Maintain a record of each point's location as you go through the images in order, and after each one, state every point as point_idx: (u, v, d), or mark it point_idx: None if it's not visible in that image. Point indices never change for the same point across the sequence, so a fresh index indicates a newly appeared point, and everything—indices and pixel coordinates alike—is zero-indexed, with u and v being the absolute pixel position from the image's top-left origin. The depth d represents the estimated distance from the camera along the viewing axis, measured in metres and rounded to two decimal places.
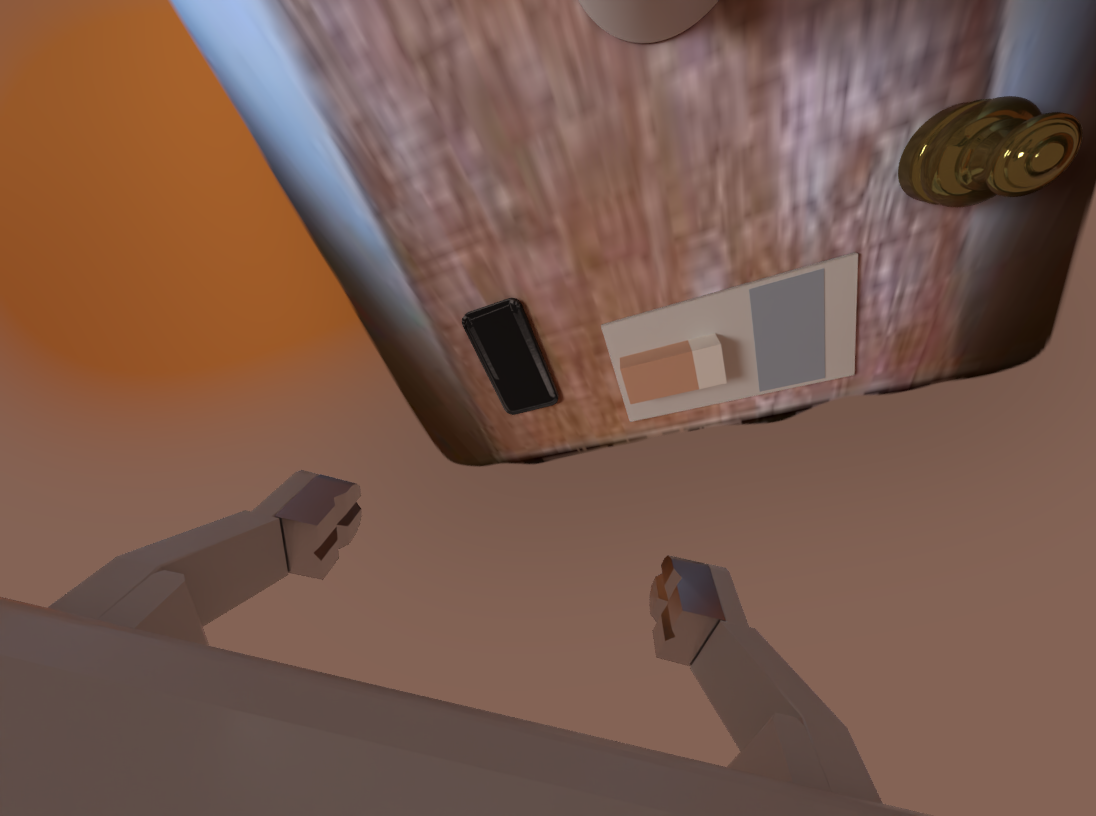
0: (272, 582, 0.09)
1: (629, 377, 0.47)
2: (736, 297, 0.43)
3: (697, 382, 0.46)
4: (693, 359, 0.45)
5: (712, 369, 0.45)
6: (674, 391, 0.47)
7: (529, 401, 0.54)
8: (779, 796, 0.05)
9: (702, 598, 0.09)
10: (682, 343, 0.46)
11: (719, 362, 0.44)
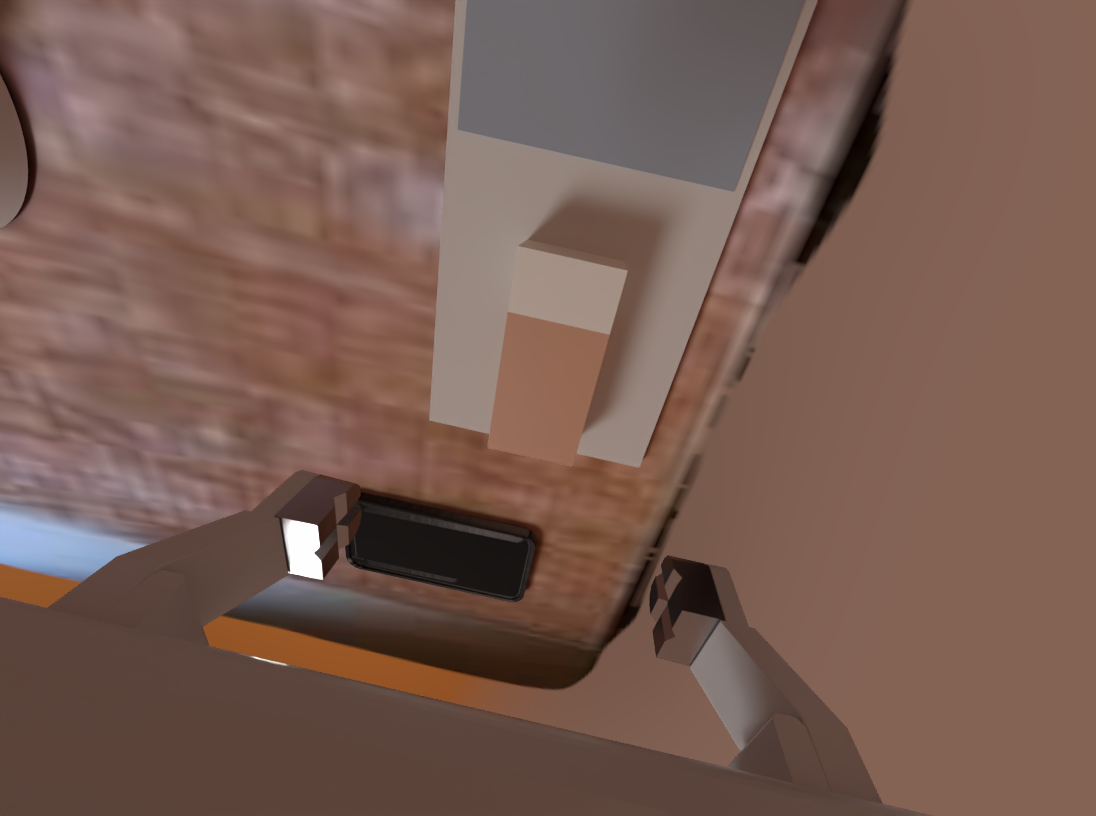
0: (272, 582, 0.09)
1: (512, 441, 0.23)
2: (466, 163, 0.19)
3: (590, 331, 0.19)
4: (529, 316, 0.19)
5: (574, 288, 0.18)
6: (587, 383, 0.20)
7: (512, 569, 0.32)
8: (779, 796, 0.05)
9: (701, 597, 0.09)
10: None
11: (564, 267, 0.18)
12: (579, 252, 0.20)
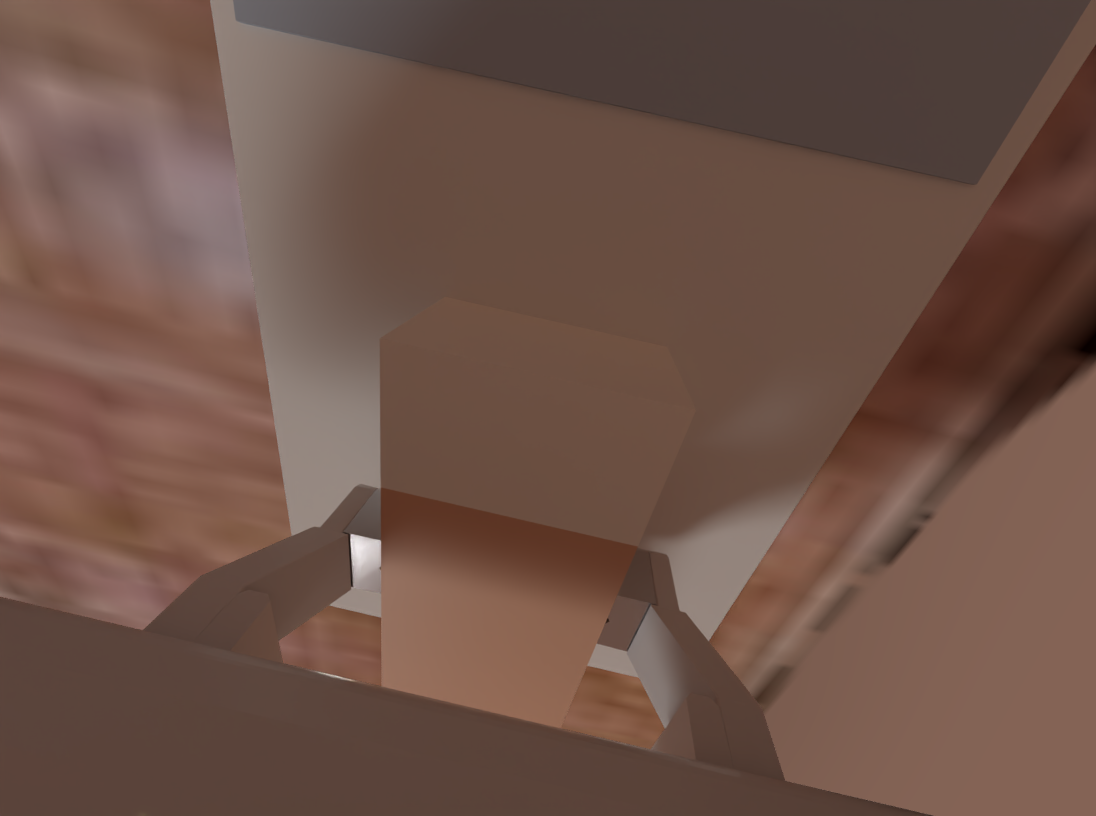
0: (337, 597, 0.09)
1: None
2: (278, 115, 0.08)
3: (588, 537, 0.08)
4: (434, 499, 0.08)
5: (543, 445, 0.07)
6: (582, 627, 0.09)
7: None
8: (779, 796, 0.05)
9: (635, 582, 0.09)
10: None
11: (515, 396, 0.06)
12: (563, 331, 0.08)
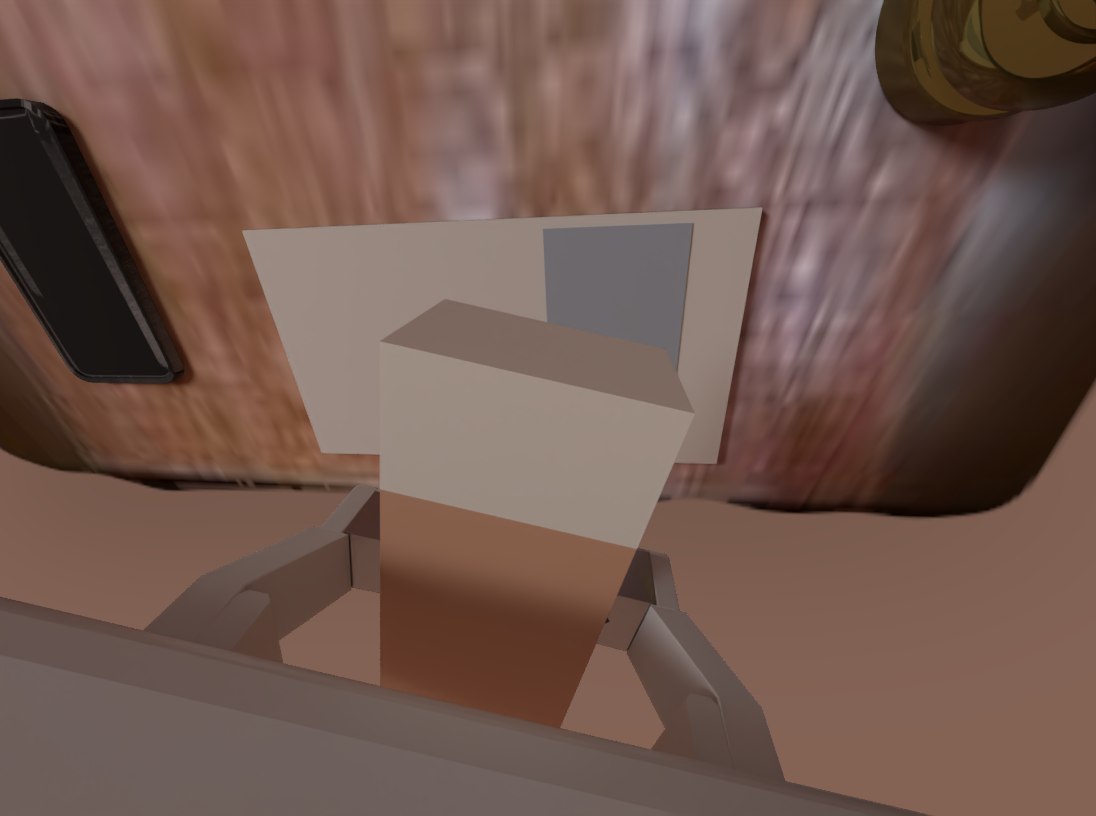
0: (337, 597, 0.09)
1: None
2: (518, 241, 0.20)
3: (587, 539, 0.08)
4: (433, 502, 0.08)
5: (542, 447, 0.07)
6: (581, 629, 0.09)
7: (118, 363, 0.26)
8: (779, 796, 0.05)
9: (635, 582, 0.09)
10: None
11: (514, 399, 0.06)
12: (562, 333, 0.08)
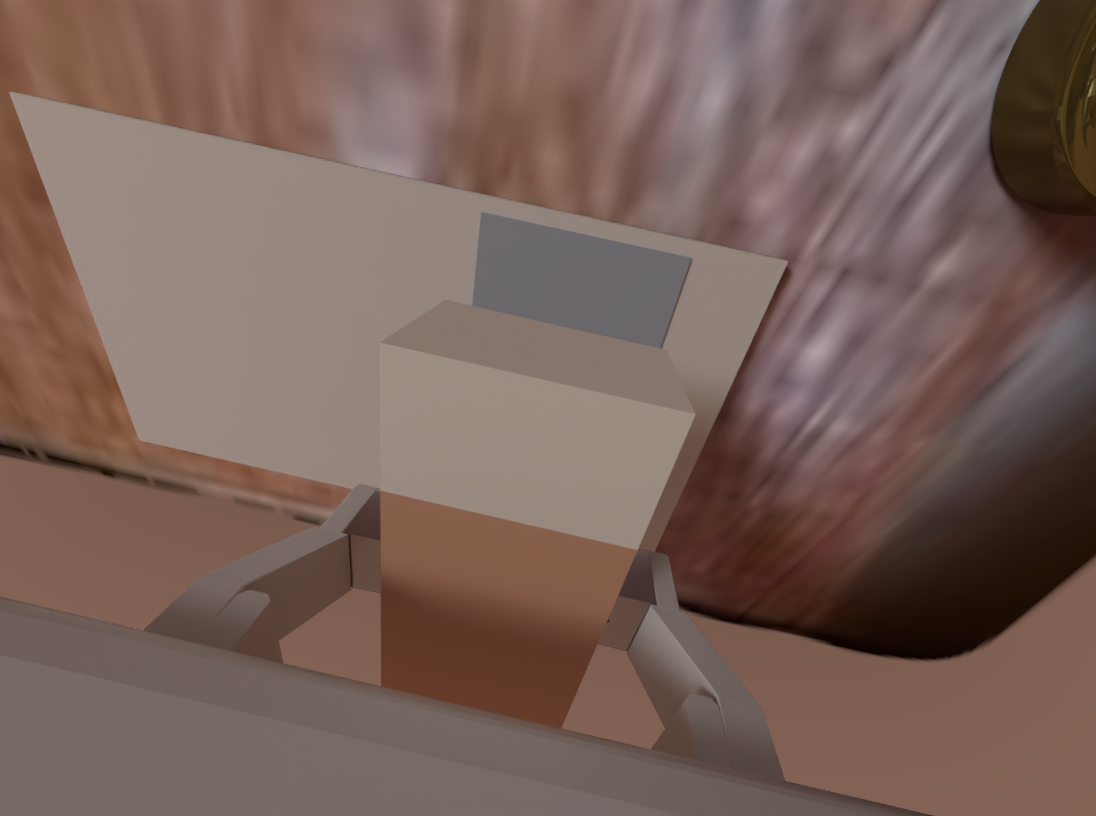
0: (337, 597, 0.09)
1: None
2: (443, 220, 0.13)
3: (588, 540, 0.08)
4: (434, 503, 0.08)
5: (543, 448, 0.07)
6: (581, 630, 0.09)
7: None
8: (779, 796, 0.05)
9: (635, 582, 0.09)
10: None
11: (514, 400, 0.06)
12: (563, 334, 0.08)
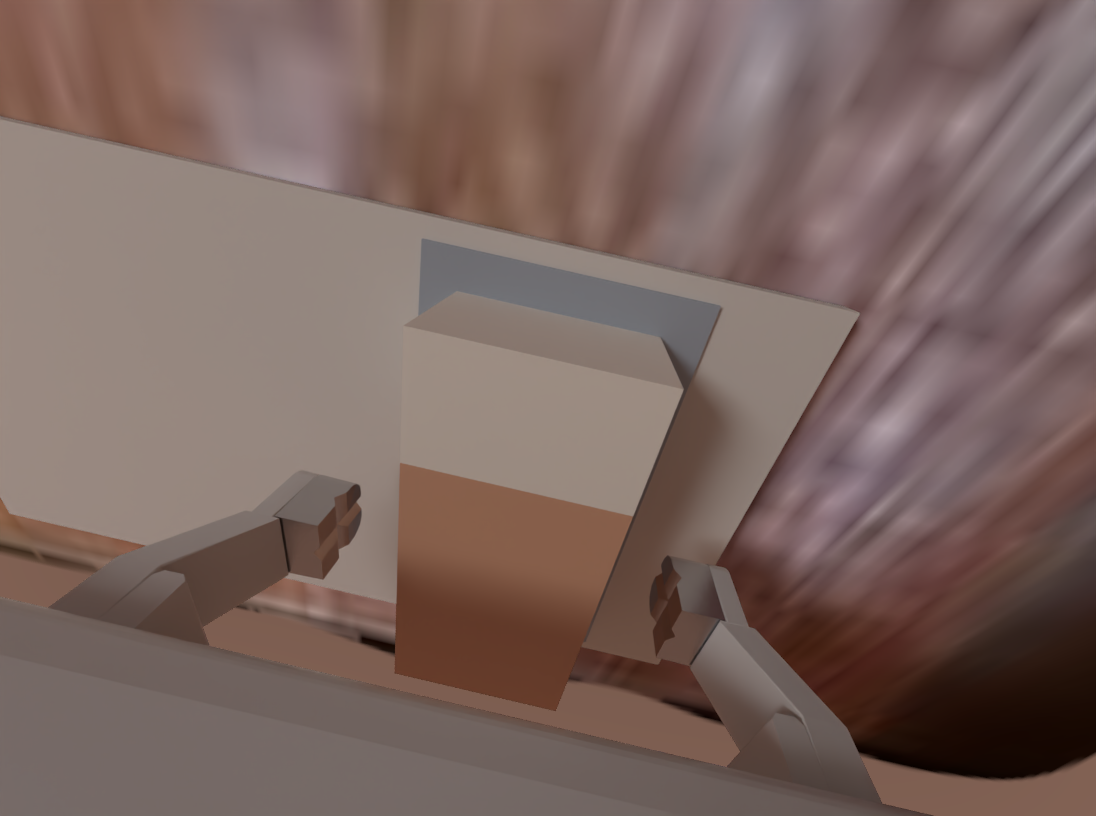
0: (272, 582, 0.09)
1: (439, 668, 0.12)
2: (370, 249, 0.10)
3: (588, 508, 0.08)
4: (448, 474, 0.08)
5: (548, 422, 0.08)
6: (582, 595, 0.10)
7: None
8: (779, 796, 0.05)
9: (702, 597, 0.09)
10: None
11: (522, 377, 0.07)
12: (565, 322, 0.09)
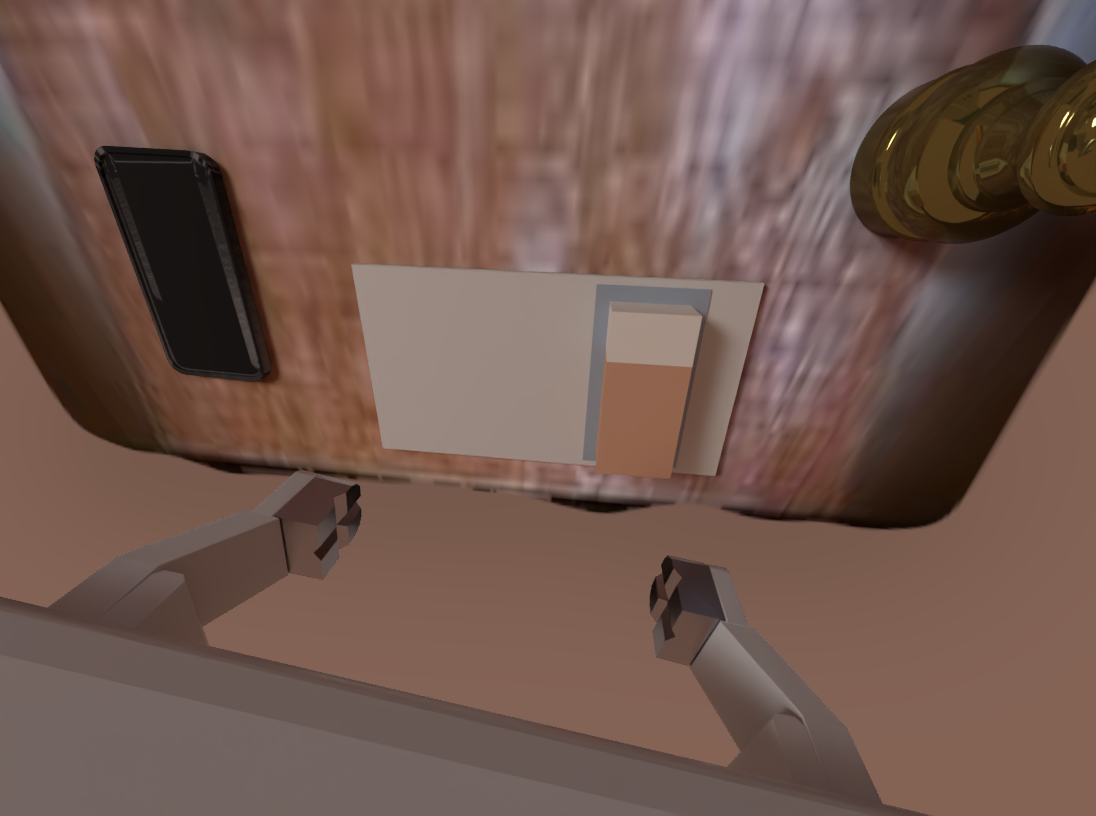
0: (272, 582, 0.09)
1: (616, 464, 0.27)
2: (576, 291, 0.26)
3: (675, 366, 0.24)
4: (624, 363, 0.24)
5: (659, 335, 0.23)
6: (677, 408, 0.25)
7: (214, 360, 0.30)
8: (779, 796, 0.05)
9: (701, 597, 0.09)
10: None
11: (650, 321, 0.23)
12: (654, 305, 0.25)
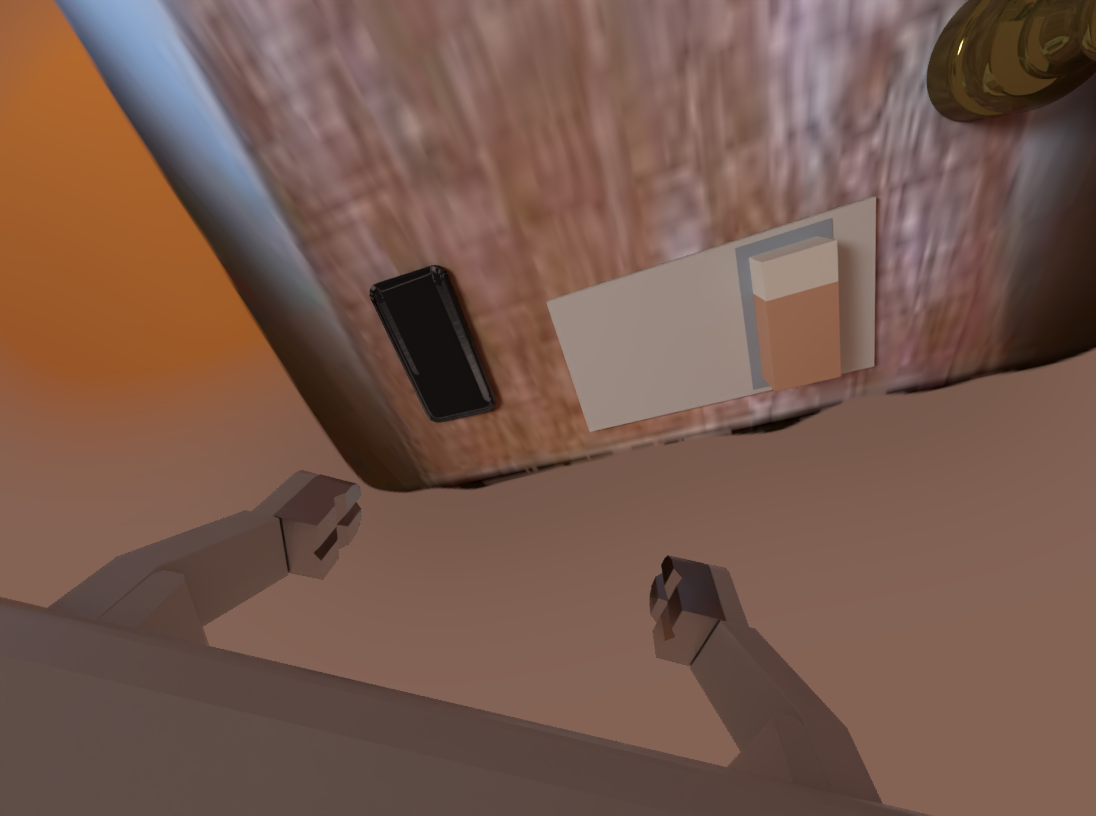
0: (272, 582, 0.09)
1: (792, 379, 0.34)
2: (719, 259, 0.33)
3: (824, 285, 0.30)
4: (780, 297, 0.31)
5: (805, 266, 0.30)
6: (833, 317, 0.31)
7: (458, 406, 0.42)
8: (779, 796, 0.05)
9: (702, 598, 0.09)
10: (756, 302, 0.34)
11: (795, 259, 0.30)
12: (788, 246, 0.31)
